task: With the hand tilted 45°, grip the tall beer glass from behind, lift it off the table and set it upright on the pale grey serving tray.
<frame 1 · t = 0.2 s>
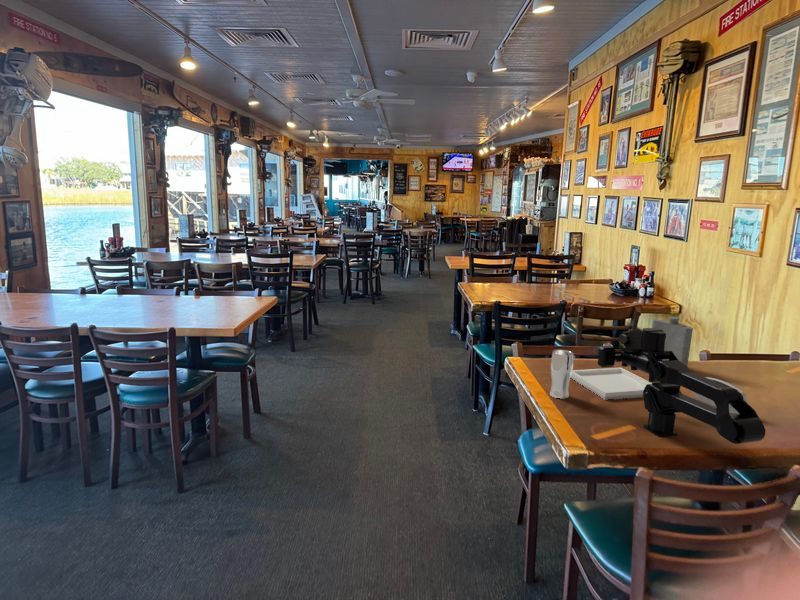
hand: (608, 349, 165), 17 cm above the table, tool horizontal, fingers open, 9 cm apart
grey half-round block: (718, 407, 163), on the table
hip flask: (667, 366, 202), on the table
beer glass: (559, 396, 169), on the table
serving tray: (613, 386, 179), on the table
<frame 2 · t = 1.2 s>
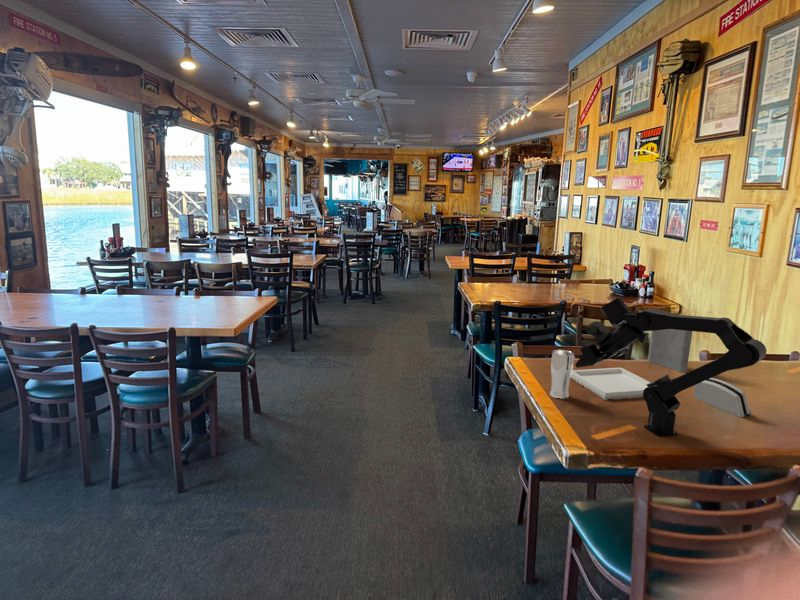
hand: (584, 363, 160), 13 cm above the table, tool tilted 45°, fingers open, 9 cm apart
nothing on the table moved.
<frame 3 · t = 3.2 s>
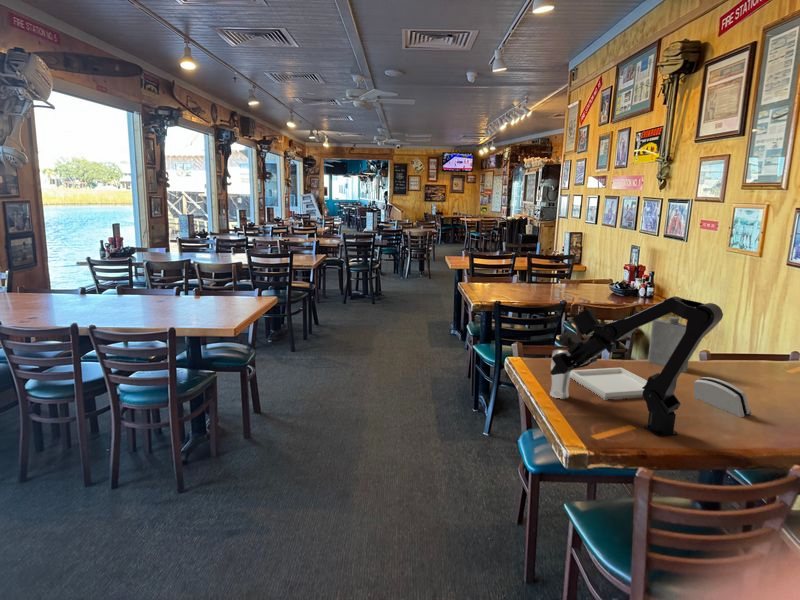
hand: (557, 371, 168), 8 cm above the table, tool tilted 45°, fingers closed on beer glass, 7 cm apart
beer glass: (559, 396, 169), on the table, touching gripper
everything else where it was.
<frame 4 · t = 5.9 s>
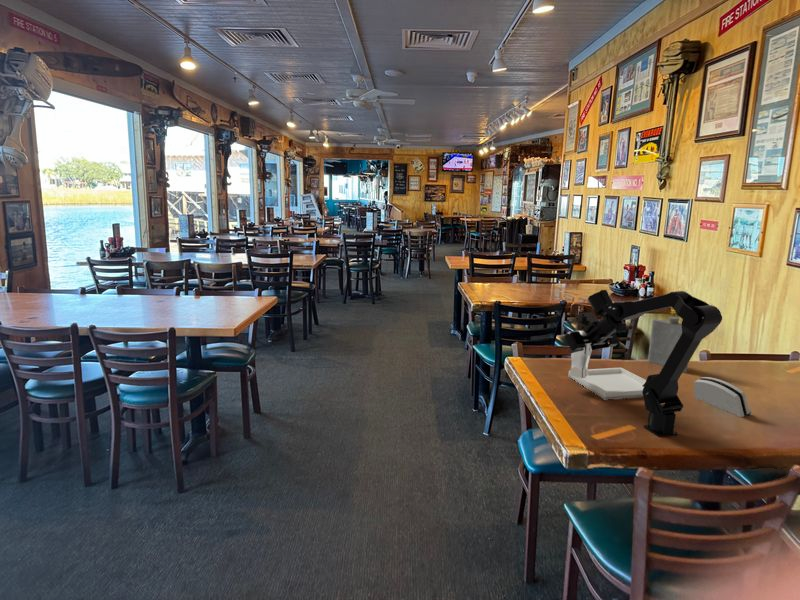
hand: (578, 351, 173), 13 cm above the table, tool tilted 45°, fingers closed on beer glass, 7 cm apart
beer glass: (578, 375, 173), point 5 cm above the table, touching gripper
everything else where it was.
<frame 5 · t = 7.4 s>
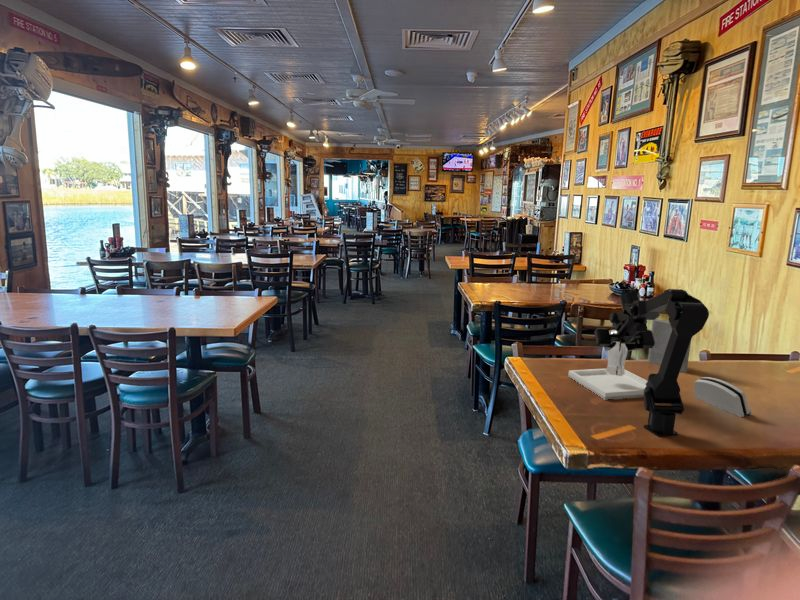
hand: (615, 349, 177), 13 cm above the table, tool tilted 45°, fingers closed on beer glass, 7 cm apart
beer glass: (615, 373, 178), point 5 cm above the table, touching gripper
everything else where it was.
when the fingers open (10 cm above the table, at t = 8.4 s): beer glass drops 1 cm, resting on serving tray.
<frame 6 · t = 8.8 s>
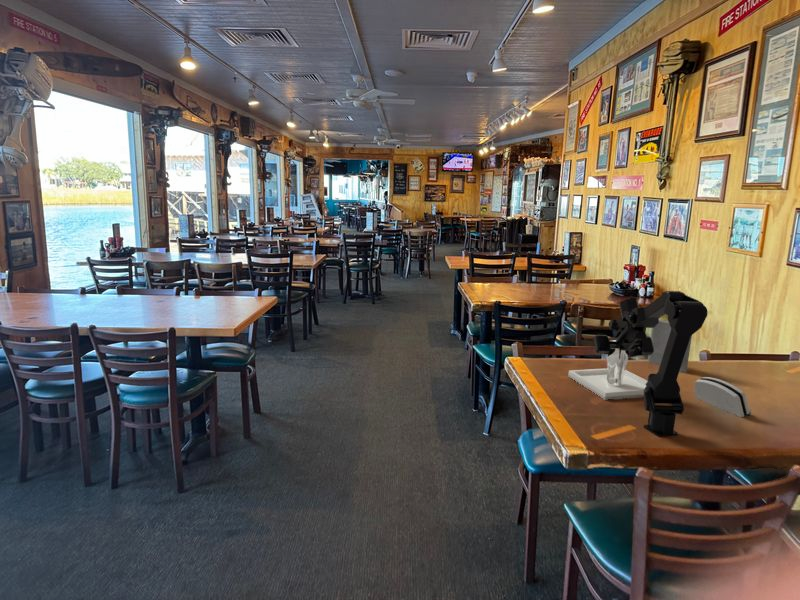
hand: (614, 356, 178), 11 cm above the table, tool tilted 45°, fingers open, 9 cm apart
beer glass: (614, 384, 178), point 1 cm above the table, touching serving tray
everything else where it was.
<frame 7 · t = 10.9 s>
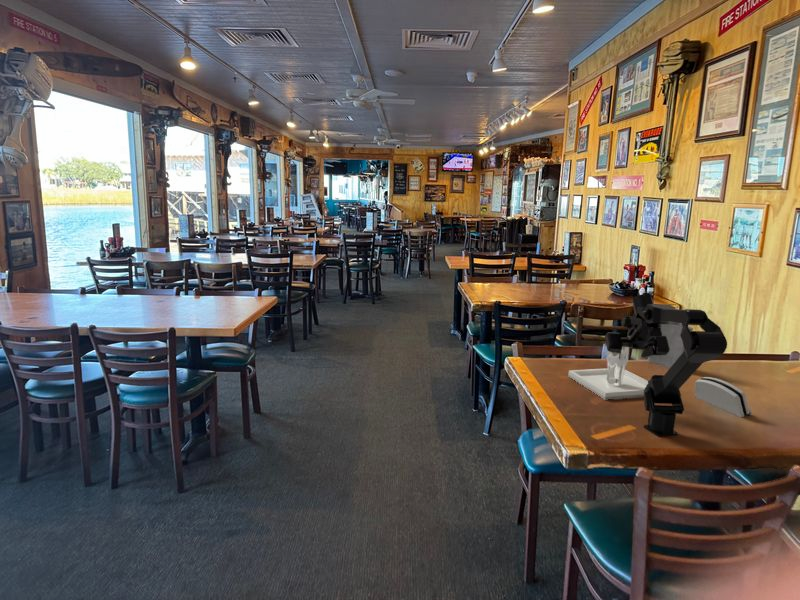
hand: (627, 355, 168), 14 cm above the table, tool tilted 45°, fingers open, 9 cm apart
nothing on the table moved.
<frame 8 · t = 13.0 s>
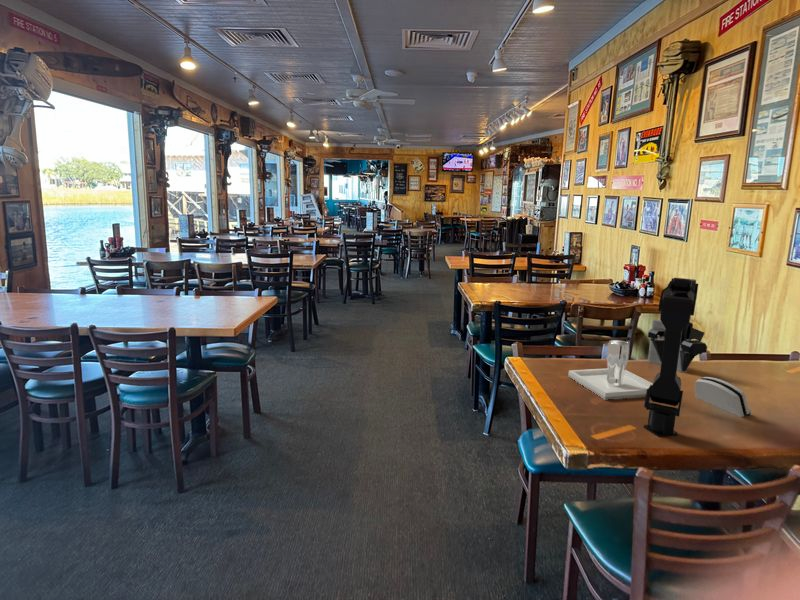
hand: (672, 366, 161), 13 cm above the table, tool pointing down, fingers open, 9 cm apart
nothing on the table moved.
at the end: beer glass inside the target area on the serving tray (0.4 cm from its centre), point 0.8 cm above the serving tray's base; beer glass tilted 0°; the gripper is holding nothing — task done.
